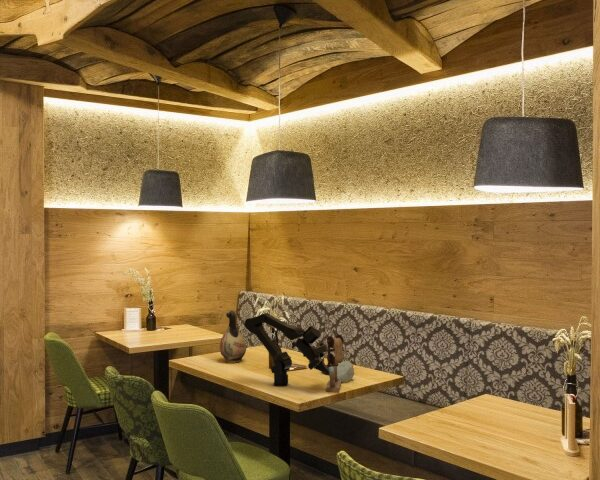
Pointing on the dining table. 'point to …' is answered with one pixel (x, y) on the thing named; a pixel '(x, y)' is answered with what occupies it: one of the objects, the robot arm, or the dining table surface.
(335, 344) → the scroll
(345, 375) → the decorative stone
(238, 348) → the ceramic jug
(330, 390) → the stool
